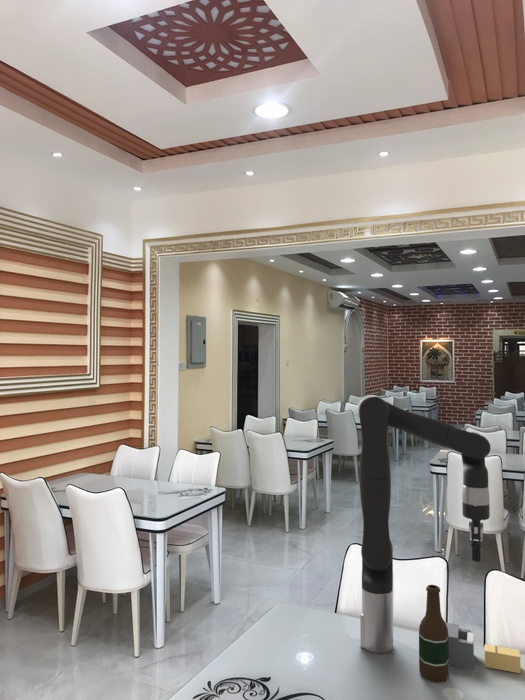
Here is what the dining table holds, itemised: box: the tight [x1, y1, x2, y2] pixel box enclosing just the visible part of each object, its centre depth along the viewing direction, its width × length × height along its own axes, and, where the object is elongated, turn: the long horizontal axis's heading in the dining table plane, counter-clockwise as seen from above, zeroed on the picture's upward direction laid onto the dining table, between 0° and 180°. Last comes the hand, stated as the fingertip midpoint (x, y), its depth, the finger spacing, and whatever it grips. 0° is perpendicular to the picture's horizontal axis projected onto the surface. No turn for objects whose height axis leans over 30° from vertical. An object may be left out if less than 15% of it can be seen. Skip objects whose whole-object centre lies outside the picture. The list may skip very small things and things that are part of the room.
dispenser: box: [445, 621, 475, 670], centre depth 158 cm, size 12×8×8 cm
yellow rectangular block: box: [484, 643, 521, 674], centre depth 153 cm, size 9×4×4 cm, turn 68°
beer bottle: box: [418, 584, 450, 684], centre depth 150 cm, size 8×8×24 cm
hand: (476, 556), depth 162 cm, fingers open, 8 cm apart
